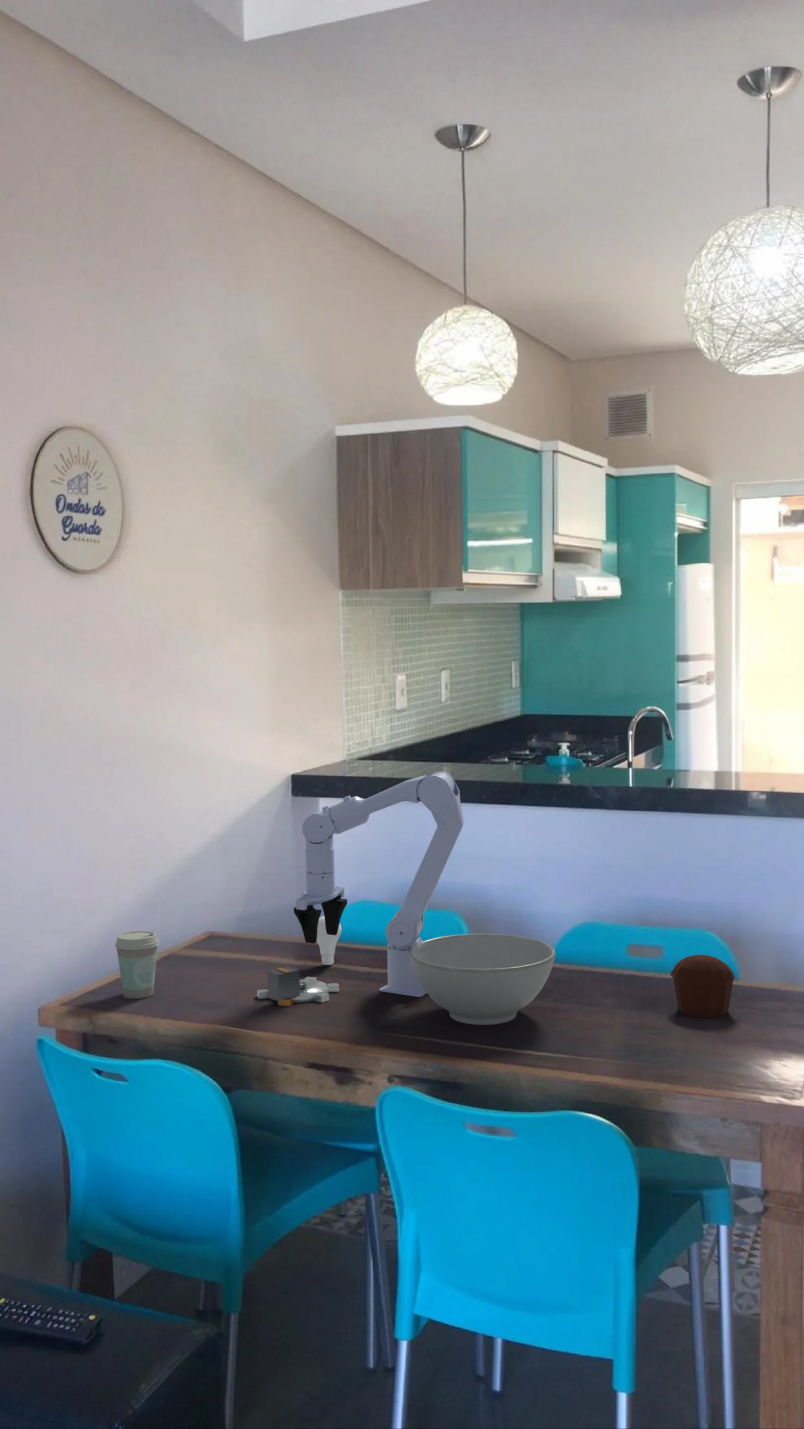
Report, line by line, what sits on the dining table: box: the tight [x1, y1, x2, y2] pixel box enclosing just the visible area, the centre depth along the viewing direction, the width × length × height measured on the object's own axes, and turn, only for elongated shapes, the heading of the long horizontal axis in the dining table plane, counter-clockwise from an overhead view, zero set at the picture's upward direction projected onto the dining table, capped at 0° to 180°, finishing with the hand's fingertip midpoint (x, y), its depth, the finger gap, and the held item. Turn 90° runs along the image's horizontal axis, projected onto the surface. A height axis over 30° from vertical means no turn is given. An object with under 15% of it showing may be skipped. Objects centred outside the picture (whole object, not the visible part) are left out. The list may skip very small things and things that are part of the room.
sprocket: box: [256, 969, 340, 1007], centre depth 234 cm, size 16×16×5 cm
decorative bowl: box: [410, 933, 556, 1026], centre depth 219 cm, size 27×27×12 cm
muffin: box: [670, 954, 736, 1019], centre depth 220 cm, size 12×11×10 cm
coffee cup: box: [114, 930, 160, 1000], centre depth 236 cm, size 8×8×12 cm
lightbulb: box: [316, 915, 342, 966], centre depth 256 cm, size 6×6×11 cm
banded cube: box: [267, 966, 300, 1002], centre depth 228 cm, size 3×5×5 cm
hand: (321, 938), depth 239 cm, fingers open, 7 cm apart
